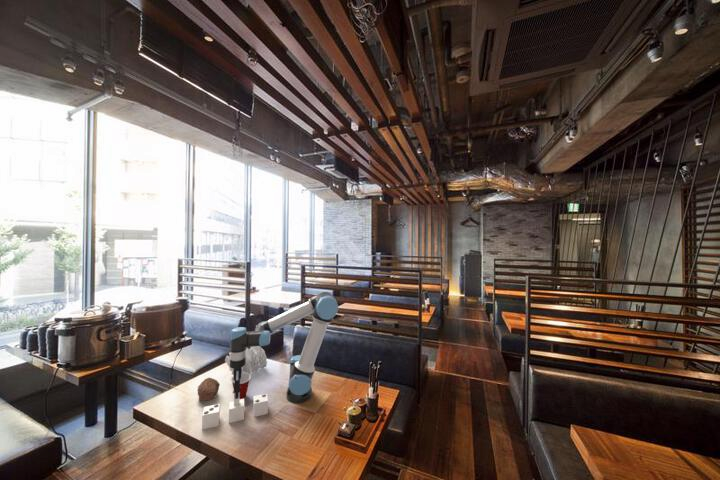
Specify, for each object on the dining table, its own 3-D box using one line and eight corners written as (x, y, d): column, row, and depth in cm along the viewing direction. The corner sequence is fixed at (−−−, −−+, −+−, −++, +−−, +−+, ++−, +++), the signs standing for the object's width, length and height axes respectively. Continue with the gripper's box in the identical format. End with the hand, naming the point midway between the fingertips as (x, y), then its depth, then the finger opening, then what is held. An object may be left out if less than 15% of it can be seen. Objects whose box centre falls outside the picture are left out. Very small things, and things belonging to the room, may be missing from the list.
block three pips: (219, 417, 137) (219, 403, 137) (218, 425, 131) (218, 411, 131) (203, 420, 134) (204, 406, 134) (202, 429, 128) (202, 415, 128)
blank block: (243, 411, 142) (244, 398, 142) (243, 419, 136) (244, 406, 136) (229, 414, 139) (229, 401, 139) (228, 423, 133) (229, 409, 133)
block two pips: (266, 406, 147) (266, 393, 147) (267, 413, 140) (268, 400, 141) (253, 409, 144) (253, 396, 144) (253, 417, 138) (253, 403, 138)
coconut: (200, 392, 158) (200, 375, 158) (221, 389, 162) (221, 373, 162) (194, 405, 146) (194, 387, 146) (216, 402, 149) (217, 384, 149)
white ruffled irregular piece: (266, 374, 189) (233, 388, 167) (252, 357, 197) (220, 369, 176) (275, 353, 185) (243, 365, 164) (261, 337, 194) (229, 347, 173)
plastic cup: (236, 405, 146) (237, 384, 146) (226, 398, 153) (227, 377, 153) (254, 396, 155) (255, 376, 155) (244, 390, 162) (245, 370, 162)
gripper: (230, 354, 142) (229, 397, 142) (229, 364, 130) (227, 412, 130) (245, 352, 145) (244, 395, 145) (245, 362, 133) (244, 409, 133)
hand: (236, 403), depth 137 cm, fingers closed
